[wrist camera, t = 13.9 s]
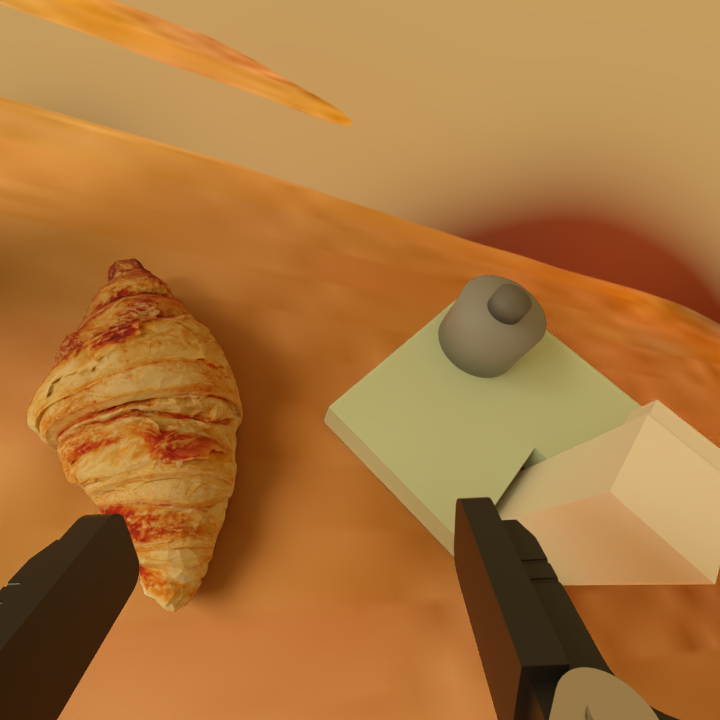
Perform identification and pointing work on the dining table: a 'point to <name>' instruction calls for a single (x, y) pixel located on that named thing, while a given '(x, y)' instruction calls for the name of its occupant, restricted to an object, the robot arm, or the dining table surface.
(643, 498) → the beige bar
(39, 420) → the croissant
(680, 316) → the dining table surface
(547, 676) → the robot arm
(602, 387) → the deck
